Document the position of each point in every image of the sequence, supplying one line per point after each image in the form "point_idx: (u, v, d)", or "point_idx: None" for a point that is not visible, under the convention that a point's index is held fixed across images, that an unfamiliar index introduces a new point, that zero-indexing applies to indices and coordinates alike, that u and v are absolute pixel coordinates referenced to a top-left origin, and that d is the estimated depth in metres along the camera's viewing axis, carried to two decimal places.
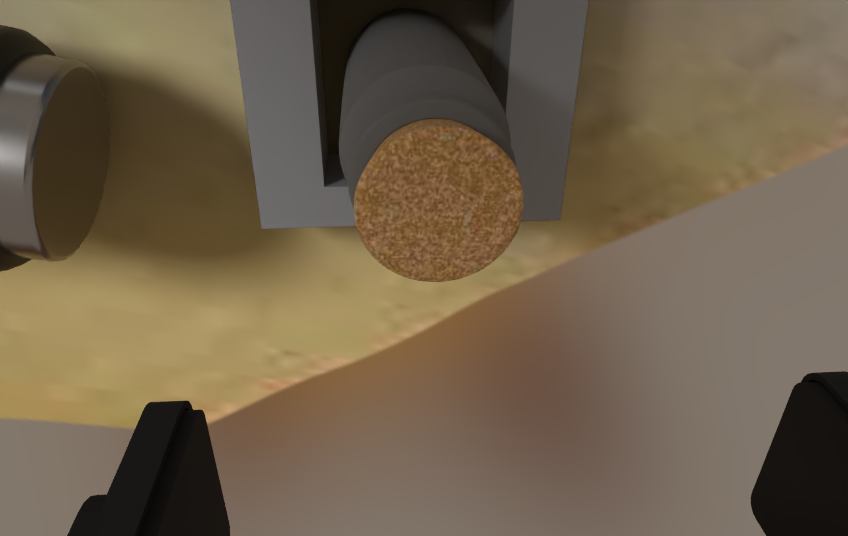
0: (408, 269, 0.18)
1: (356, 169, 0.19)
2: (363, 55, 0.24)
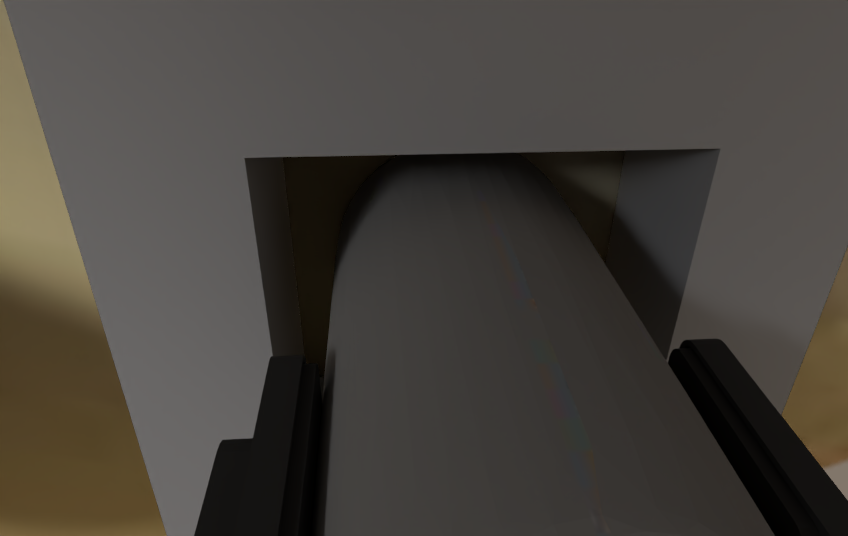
0: None
1: None
2: (373, 315, 0.10)
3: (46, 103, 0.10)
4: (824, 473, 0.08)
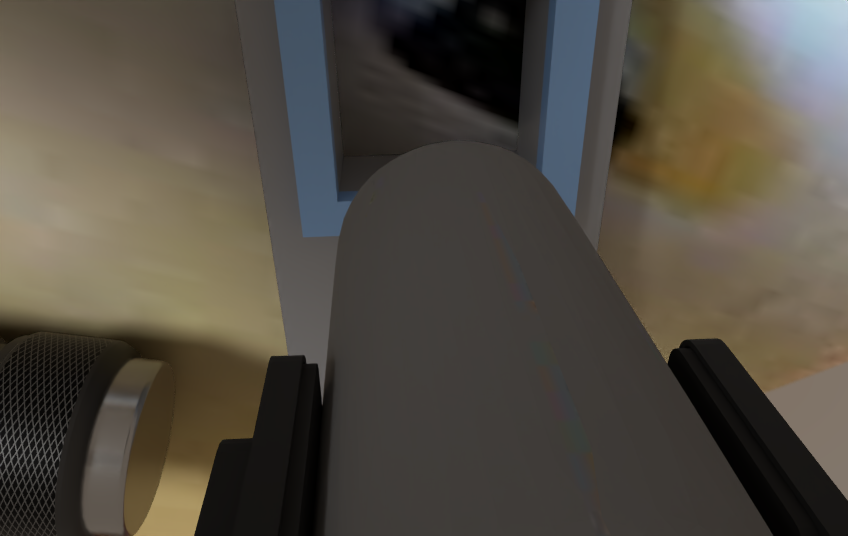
0: None
1: None
2: (373, 317, 0.10)
3: (283, 299, 0.28)
4: (824, 473, 0.08)
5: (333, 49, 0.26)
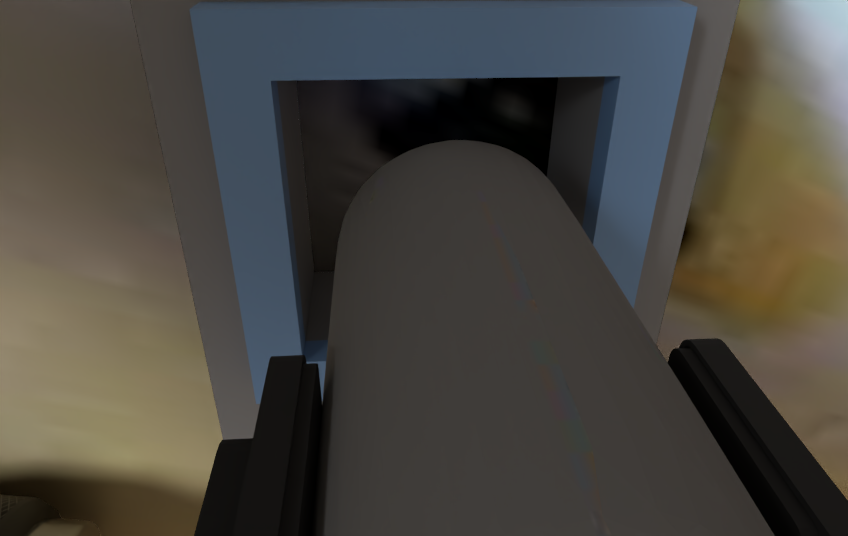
0: None
1: None
2: (373, 316, 0.10)
3: None
4: (824, 473, 0.08)
5: (299, 147, 0.19)
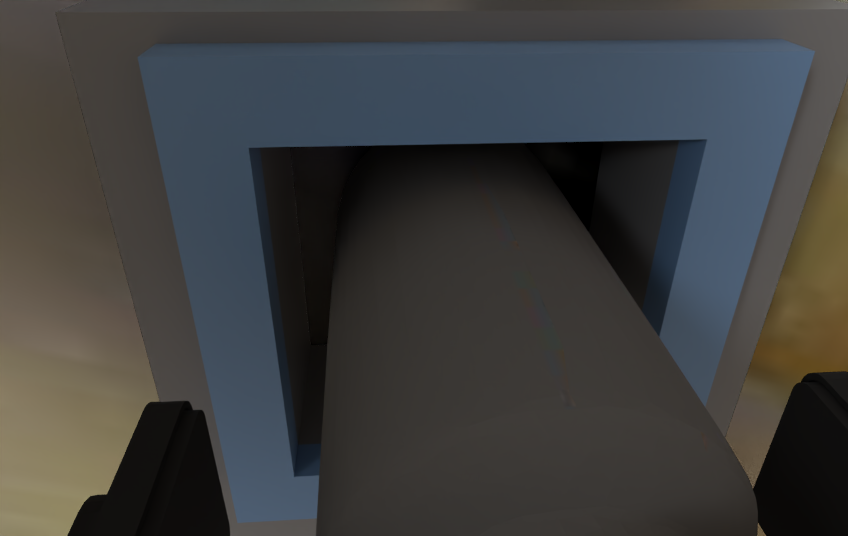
0: None
1: None
2: (374, 261, 0.11)
3: None
4: None
5: (292, 207, 0.16)
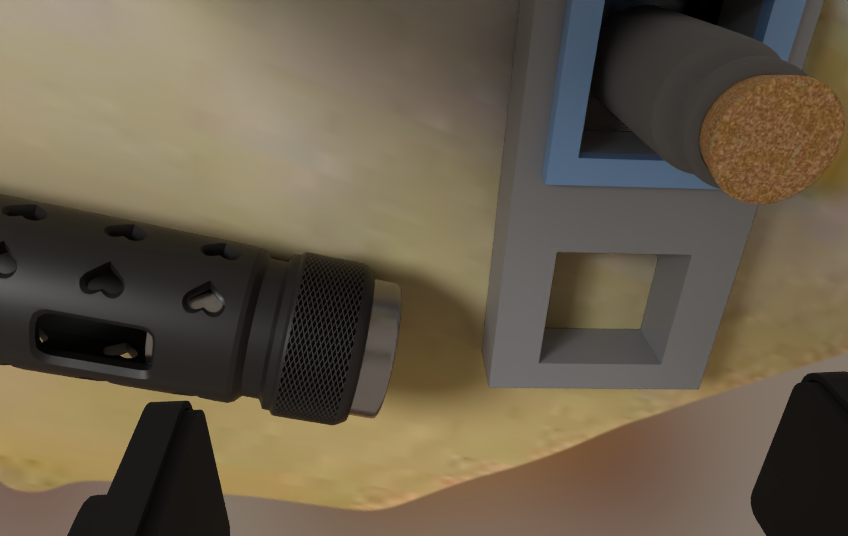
0: (738, 191, 0.23)
1: (698, 112, 0.24)
2: (647, 35, 0.29)
3: (510, 236, 0.36)
4: None
5: None
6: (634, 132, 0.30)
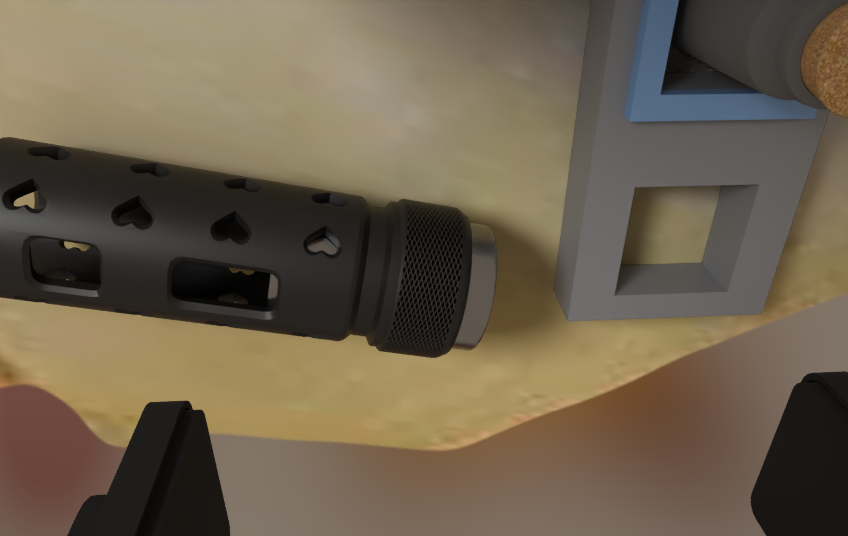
0: (840, 106, 0.26)
1: (801, 37, 0.26)
2: None
3: (592, 174, 0.39)
4: None
5: None
6: (719, 66, 0.33)
